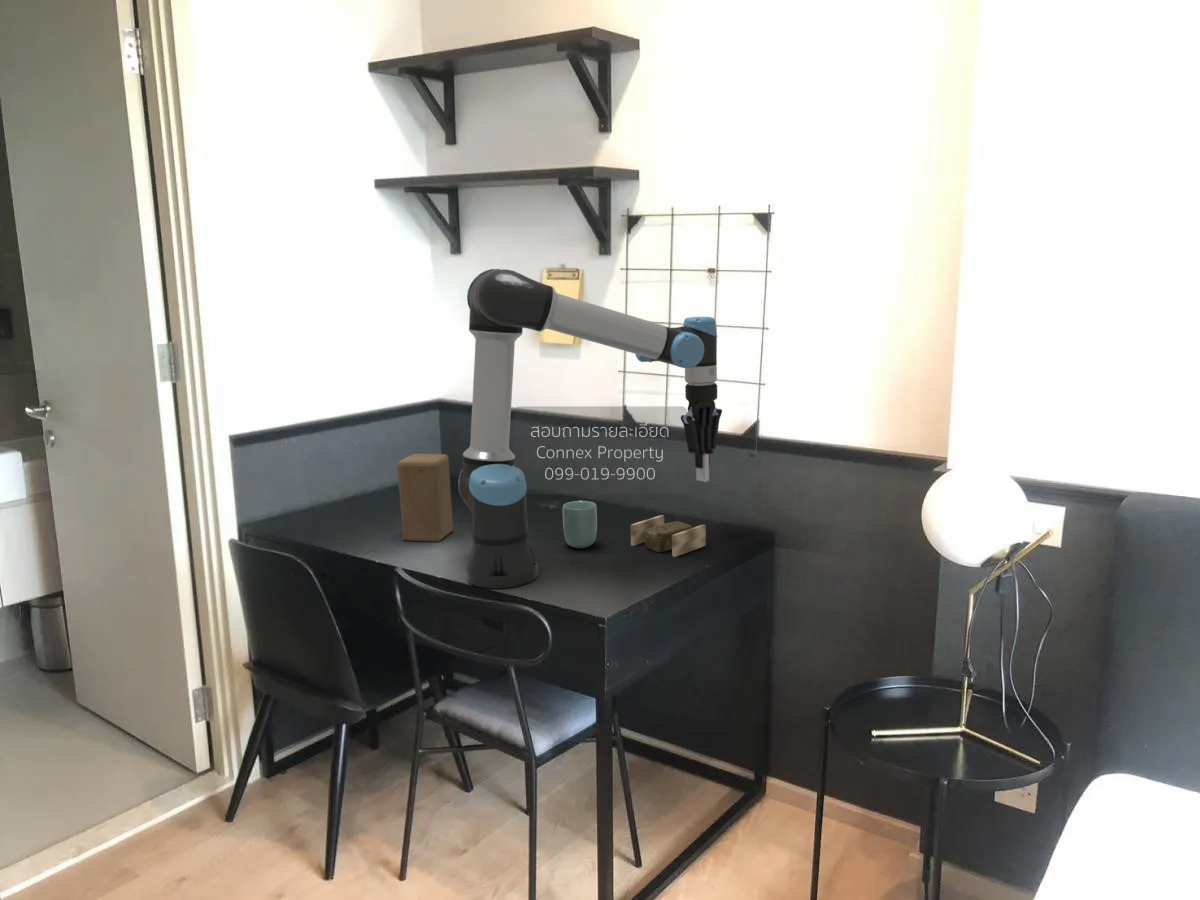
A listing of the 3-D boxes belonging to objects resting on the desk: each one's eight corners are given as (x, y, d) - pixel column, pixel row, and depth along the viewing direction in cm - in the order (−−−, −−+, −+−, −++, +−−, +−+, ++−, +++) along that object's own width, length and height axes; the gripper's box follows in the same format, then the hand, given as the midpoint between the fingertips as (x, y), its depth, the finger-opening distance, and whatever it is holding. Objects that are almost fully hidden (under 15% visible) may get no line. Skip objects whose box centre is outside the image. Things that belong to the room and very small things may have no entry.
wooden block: (439, 542, 222) (434, 462, 218) (401, 541, 224) (395, 461, 220) (454, 531, 232) (449, 453, 228) (417, 529, 234) (411, 452, 230)
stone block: (642, 549, 213) (642, 528, 212) (678, 539, 220) (678, 519, 219) (659, 554, 209) (659, 533, 208) (695, 544, 216) (695, 524, 215)
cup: (579, 539, 222) (577, 499, 220) (604, 544, 217) (602, 503, 215) (557, 547, 216) (555, 506, 214) (582, 553, 211) (581, 511, 209)
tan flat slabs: (674, 557, 206) (674, 535, 205) (630, 545, 216) (630, 524, 215) (705, 545, 214) (705, 525, 213) (662, 534, 223) (661, 514, 222)
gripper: (695, 387, 209) (697, 488, 214) (730, 380, 218) (731, 477, 223) (670, 385, 214) (673, 483, 219) (706, 378, 223) (707, 473, 228)
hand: (702, 480), depth 221 cm, fingers closed
